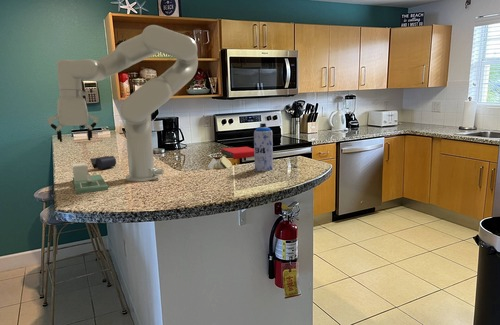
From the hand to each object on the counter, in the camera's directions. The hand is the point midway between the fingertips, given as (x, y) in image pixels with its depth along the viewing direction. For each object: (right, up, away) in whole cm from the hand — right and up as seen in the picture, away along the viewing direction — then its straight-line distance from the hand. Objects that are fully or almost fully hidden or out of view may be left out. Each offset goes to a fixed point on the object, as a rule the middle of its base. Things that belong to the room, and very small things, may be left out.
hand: (75, 140), depth 135 cm
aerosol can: (+71, -12, +12) cm, 73 cm away
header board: (+6, -16, -2) cm, 18 cm away
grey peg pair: (+8, -16, -7) cm, 19 cm away
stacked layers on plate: (+51, -11, +22) cm, 57 cm away
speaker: (+3, -7, +32) cm, 33 cm away
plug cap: (+1, -14, +3) cm, 15 cm away
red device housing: (+61, -7, +47) cm, 77 cm away
